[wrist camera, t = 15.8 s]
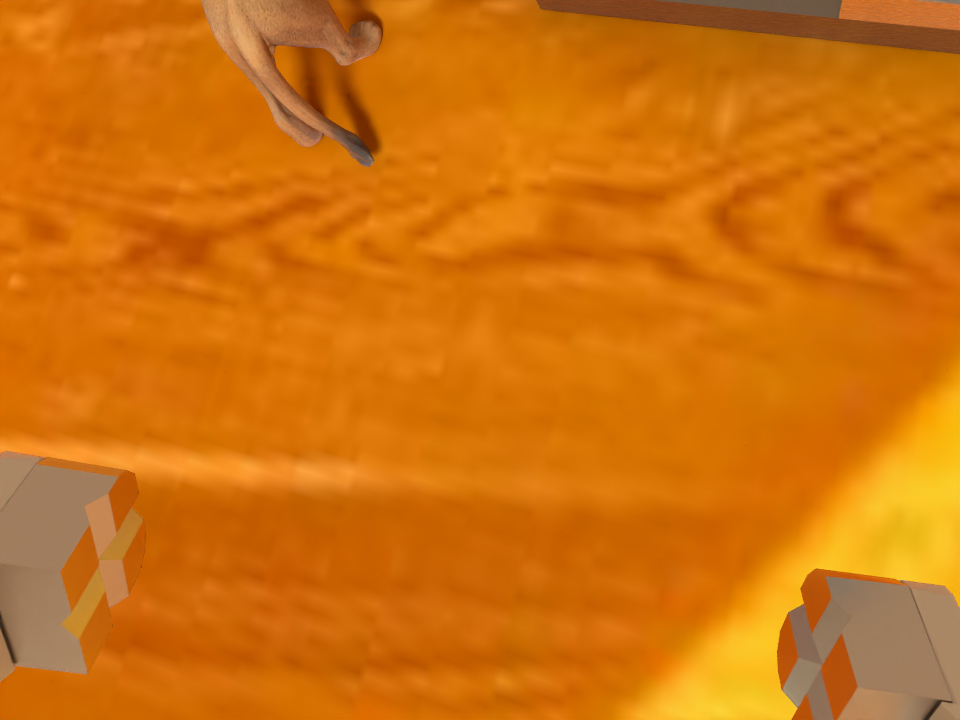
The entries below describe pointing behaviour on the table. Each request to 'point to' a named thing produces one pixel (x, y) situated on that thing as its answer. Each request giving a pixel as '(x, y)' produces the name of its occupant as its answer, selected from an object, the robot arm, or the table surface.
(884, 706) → the robot arm
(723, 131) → the table surface
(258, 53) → the lion figurine
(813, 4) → the latch plate
